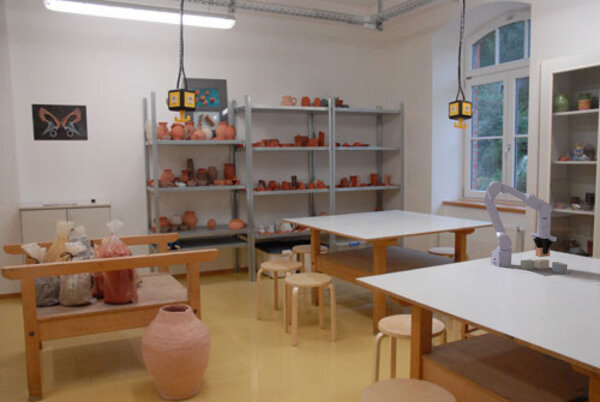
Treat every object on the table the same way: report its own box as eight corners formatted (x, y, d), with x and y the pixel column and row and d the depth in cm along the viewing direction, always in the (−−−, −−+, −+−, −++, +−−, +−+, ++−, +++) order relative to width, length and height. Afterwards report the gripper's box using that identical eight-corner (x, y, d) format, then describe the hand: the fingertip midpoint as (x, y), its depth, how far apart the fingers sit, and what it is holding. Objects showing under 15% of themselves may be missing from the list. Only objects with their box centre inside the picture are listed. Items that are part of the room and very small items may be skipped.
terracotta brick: (540, 257, 245) (540, 249, 245) (535, 255, 248) (535, 248, 248) (549, 256, 247) (550, 248, 247) (545, 255, 250) (545, 247, 250)
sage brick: (524, 269, 244) (525, 261, 244) (520, 268, 247) (520, 260, 247) (534, 268, 246) (534, 260, 246) (530, 267, 249) (530, 259, 249)
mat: (545, 277, 232) (545, 275, 232) (518, 268, 248) (518, 267, 248) (570, 274, 236) (570, 273, 236) (542, 266, 252) (542, 265, 252)
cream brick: (539, 268, 246) (539, 260, 246) (534, 267, 249) (535, 259, 248) (548, 267, 248) (549, 259, 247) (544, 266, 251) (544, 258, 250)
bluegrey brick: (566, 272, 238) (567, 264, 238) (562, 273, 237) (562, 264, 237) (556, 269, 244) (557, 261, 243) (552, 270, 243) (552, 262, 242)
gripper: (562, 228, 241) (560, 255, 242) (539, 223, 254) (537, 249, 256) (550, 228, 238) (549, 256, 240) (528, 224, 252) (526, 250, 254)
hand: (542, 253), depth 248 cm, fingers closed on terracotta brick, 3 cm apart
